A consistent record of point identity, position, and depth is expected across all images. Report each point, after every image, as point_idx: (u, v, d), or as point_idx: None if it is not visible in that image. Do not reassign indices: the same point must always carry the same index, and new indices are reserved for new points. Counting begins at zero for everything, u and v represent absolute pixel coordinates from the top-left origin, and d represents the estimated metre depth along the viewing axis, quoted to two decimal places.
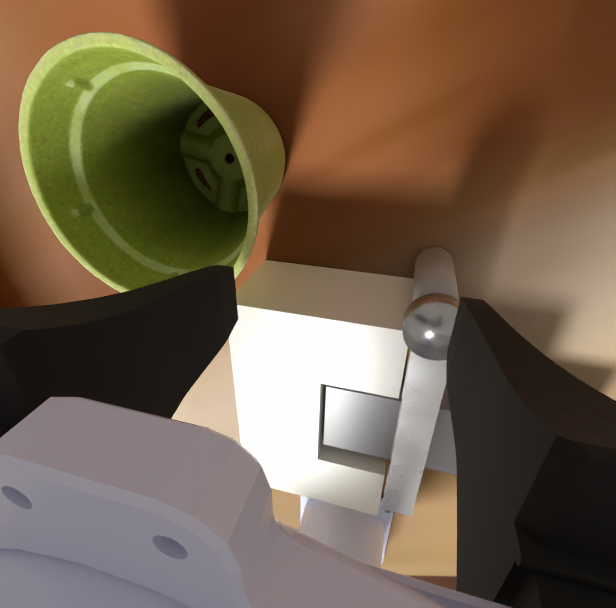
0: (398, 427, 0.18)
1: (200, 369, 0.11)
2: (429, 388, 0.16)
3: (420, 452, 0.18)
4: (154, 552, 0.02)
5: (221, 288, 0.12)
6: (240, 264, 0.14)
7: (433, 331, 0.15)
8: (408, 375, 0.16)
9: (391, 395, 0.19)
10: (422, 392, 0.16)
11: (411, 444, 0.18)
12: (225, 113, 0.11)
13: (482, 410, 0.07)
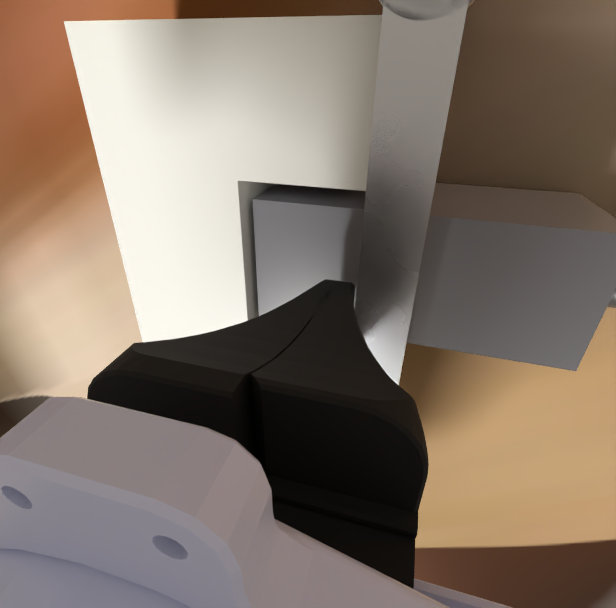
0: (364, 222, 0.10)
1: None
2: (420, 106, 0.08)
3: (404, 277, 0.10)
4: (154, 552, 0.02)
5: None
6: None
7: None
8: (378, 79, 0.08)
9: (355, 186, 0.11)
10: (406, 121, 0.08)
11: (388, 260, 0.10)
12: None
13: None
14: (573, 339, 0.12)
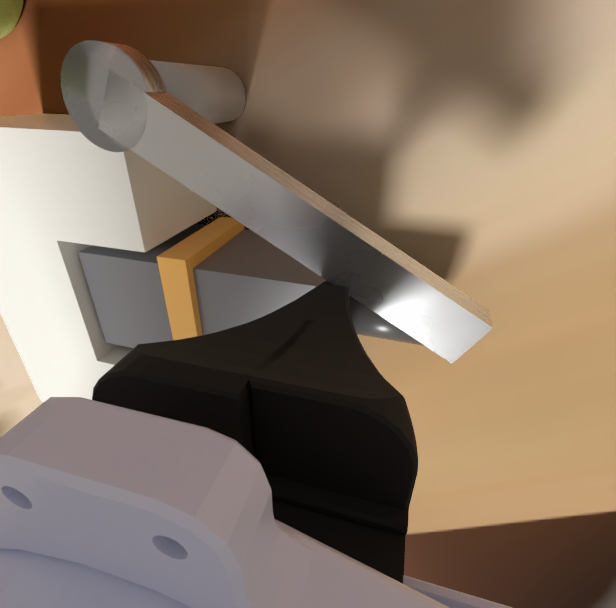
0: (264, 237, 0.11)
1: None
2: (195, 153, 0.10)
3: (327, 231, 0.10)
4: (154, 552, 0.02)
5: None
6: None
7: (105, 103, 0.10)
8: (169, 173, 0.10)
9: (136, 248, 0.14)
10: (201, 167, 0.10)
11: (305, 236, 0.10)
12: None
13: None
14: None
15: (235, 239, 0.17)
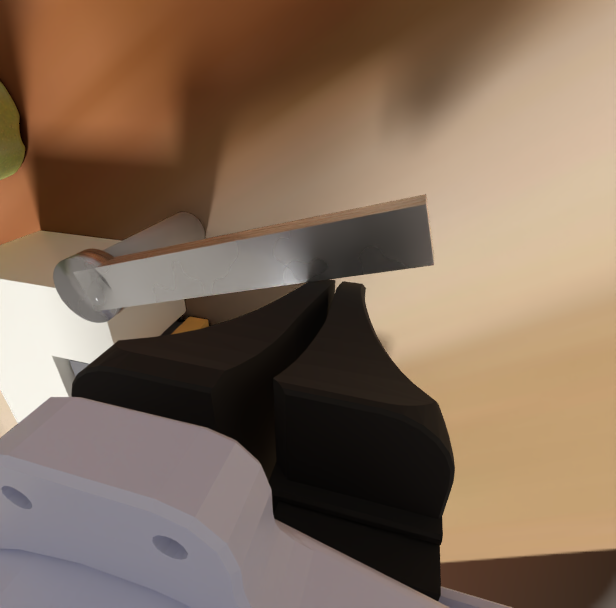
0: (219, 293, 0.12)
1: None
2: (141, 276, 0.13)
3: (244, 251, 0.11)
4: (154, 552, 0.02)
5: (327, 304, 0.11)
6: None
7: (88, 293, 0.14)
8: (142, 303, 0.13)
9: None
10: (151, 282, 0.13)
11: (237, 268, 0.11)
12: None
13: None
14: None
15: None
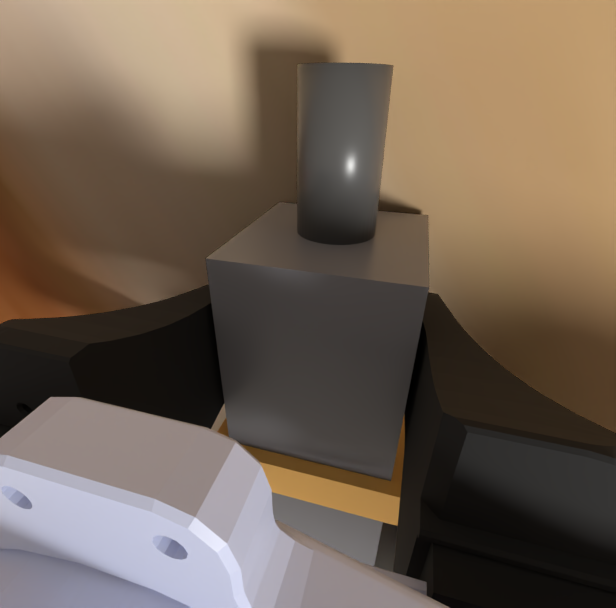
0: None
1: None
2: None
3: None
4: (154, 551, 0.02)
5: None
6: None
7: None
8: None
9: None
10: None
11: None
12: None
13: (418, 398, 0.08)
14: (364, 299, 0.07)
15: None
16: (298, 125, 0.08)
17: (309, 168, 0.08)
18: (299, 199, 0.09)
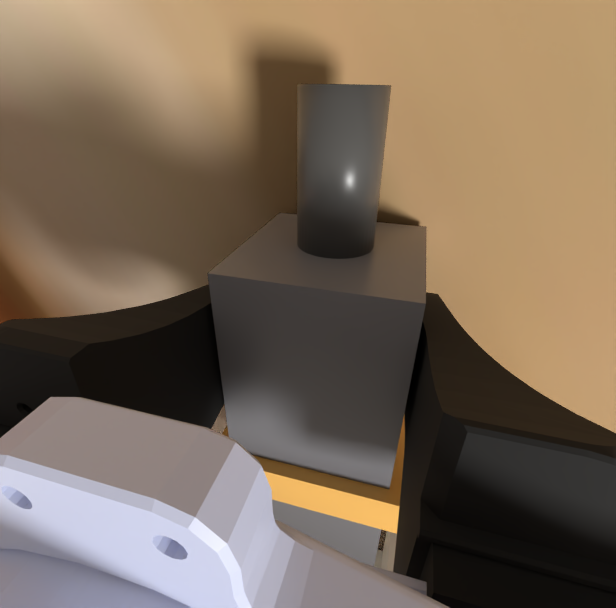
0: None
1: None
2: None
3: None
4: (154, 552, 0.02)
5: None
6: None
7: None
8: None
9: None
10: None
11: None
12: None
13: (418, 398, 0.08)
14: (363, 314, 0.08)
15: None
16: (298, 142, 0.08)
17: (309, 184, 0.08)
18: (299, 213, 0.09)
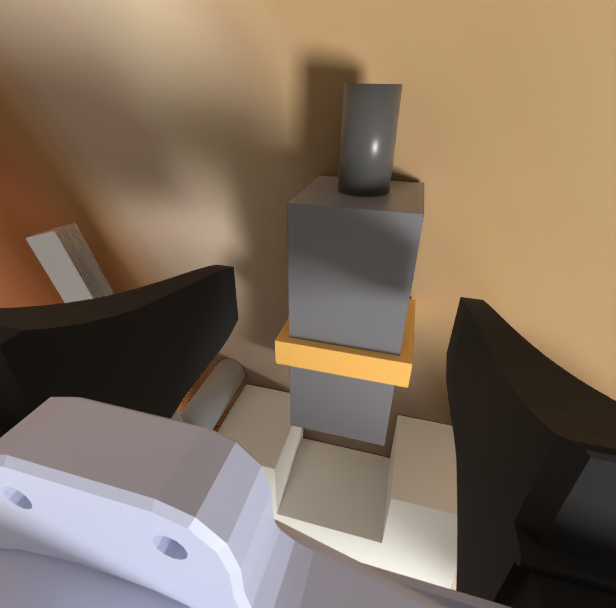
0: None
1: (200, 369, 0.11)
2: None
3: None
4: (154, 552, 0.02)
5: (221, 288, 0.12)
6: None
7: None
8: None
9: (272, 473, 0.20)
10: None
11: None
12: None
13: (482, 410, 0.07)
14: (385, 224, 0.13)
15: None
16: (343, 120, 0.13)
17: (349, 147, 0.13)
18: (341, 168, 0.14)
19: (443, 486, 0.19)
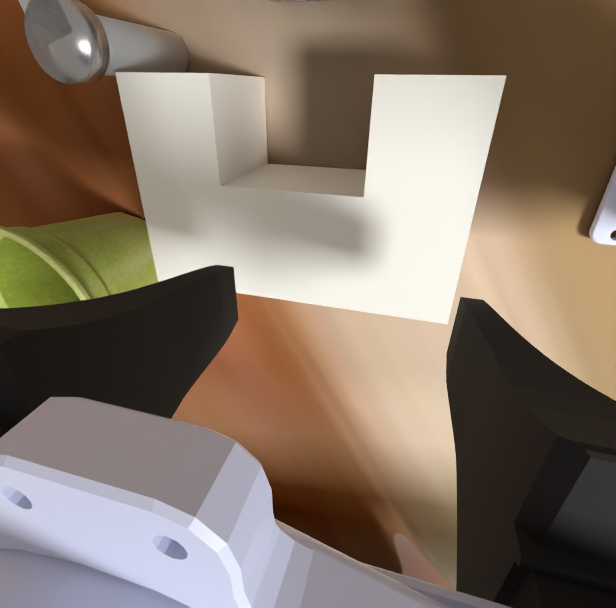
0: None
1: (200, 369, 0.11)
2: None
3: None
4: (154, 552, 0.02)
5: (221, 288, 0.12)
6: (31, 247, 0.16)
7: (61, 39, 0.13)
8: None
9: (207, 84, 0.14)
10: None
11: None
12: None
13: (482, 410, 0.07)
14: None
15: None
16: None
17: None
18: None
19: None
